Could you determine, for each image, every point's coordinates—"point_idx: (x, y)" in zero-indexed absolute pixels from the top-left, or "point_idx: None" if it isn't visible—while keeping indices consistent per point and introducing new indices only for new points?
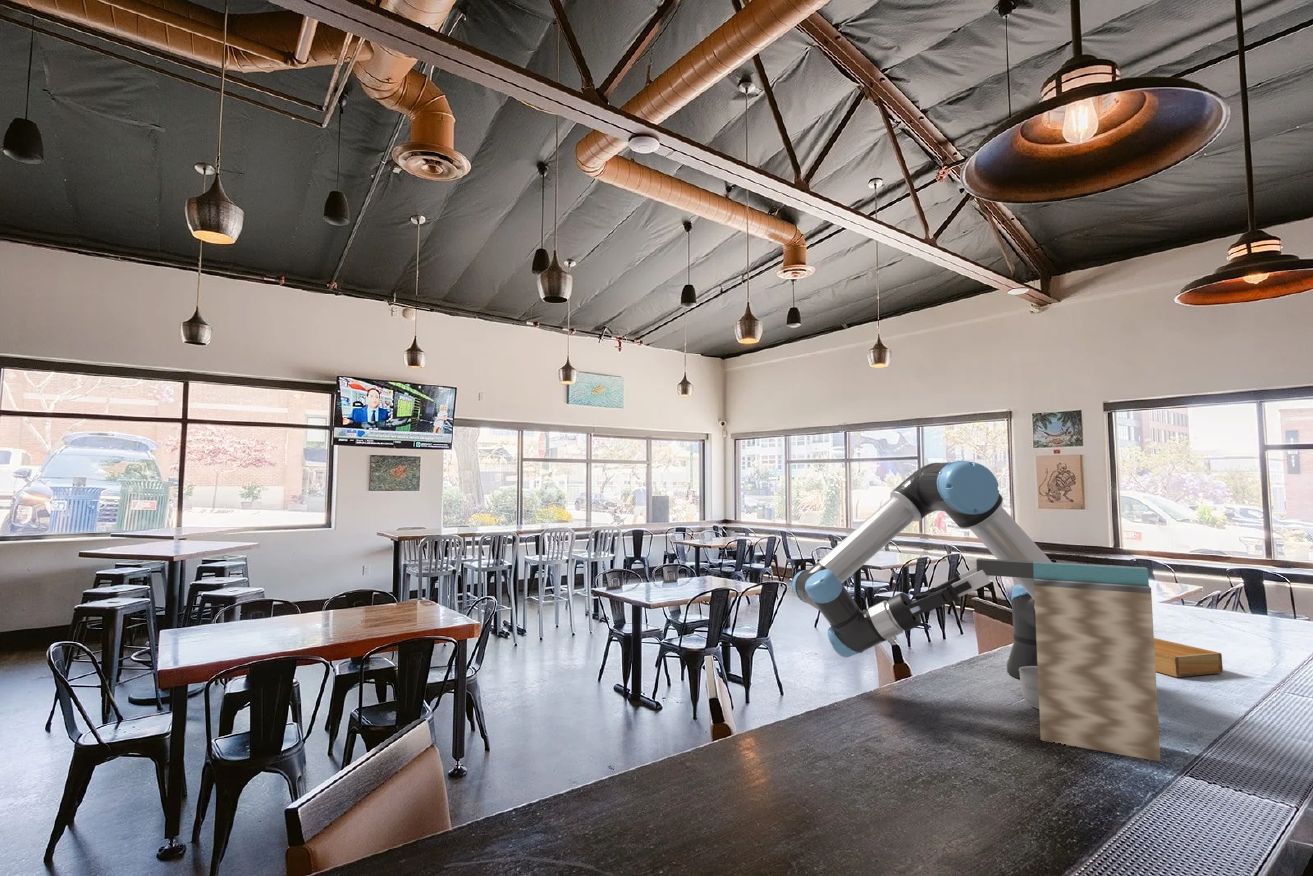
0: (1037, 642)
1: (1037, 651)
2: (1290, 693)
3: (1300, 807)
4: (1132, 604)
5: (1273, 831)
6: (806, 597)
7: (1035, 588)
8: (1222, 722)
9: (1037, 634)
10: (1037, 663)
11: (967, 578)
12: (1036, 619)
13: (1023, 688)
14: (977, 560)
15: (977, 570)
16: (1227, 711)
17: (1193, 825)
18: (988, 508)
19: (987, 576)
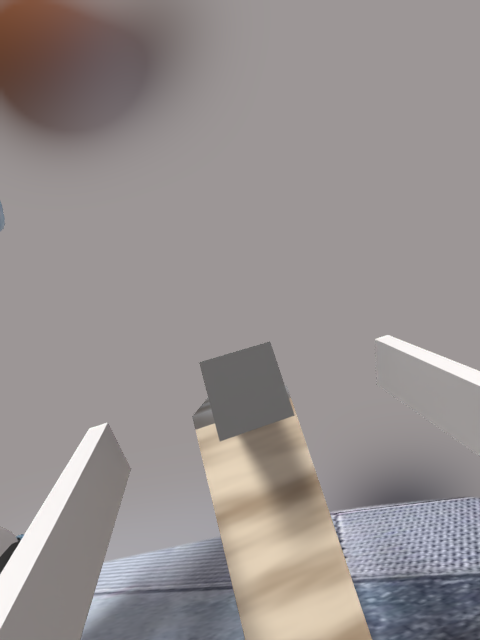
0: (339, 547)
1: (349, 575)
2: None
3: (333, 512)
4: None
5: (400, 508)
6: None
7: (292, 404)
8: (139, 601)
9: (332, 522)
10: (363, 615)
11: (458, 368)
12: (317, 482)
13: None
14: (270, 344)
15: (286, 392)
16: (96, 608)
17: (469, 534)
18: (2, 224)
19: (119, 501)
